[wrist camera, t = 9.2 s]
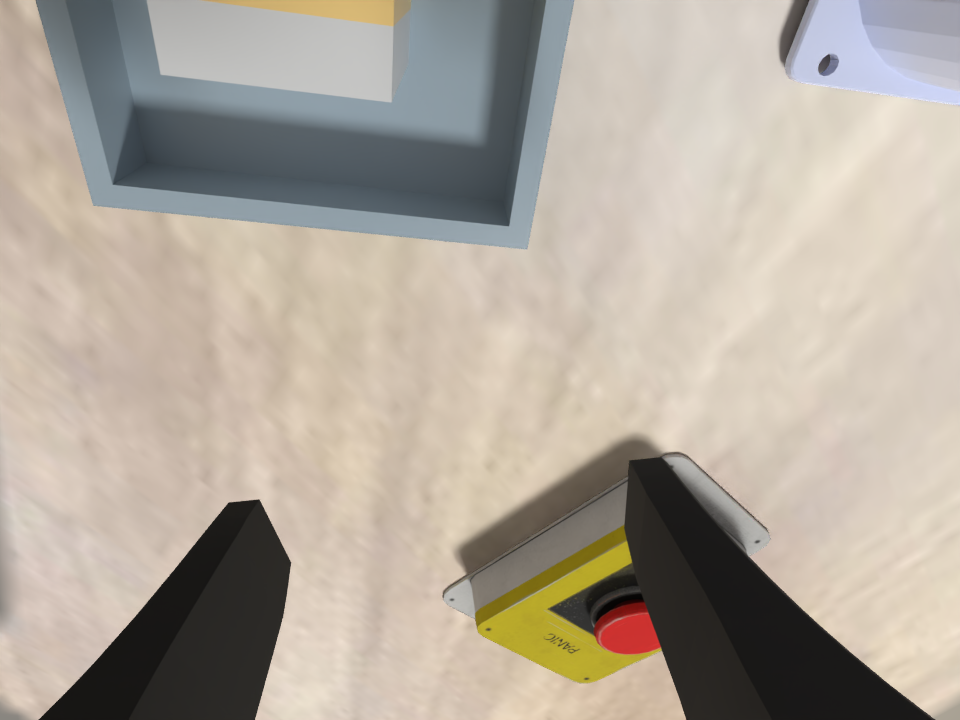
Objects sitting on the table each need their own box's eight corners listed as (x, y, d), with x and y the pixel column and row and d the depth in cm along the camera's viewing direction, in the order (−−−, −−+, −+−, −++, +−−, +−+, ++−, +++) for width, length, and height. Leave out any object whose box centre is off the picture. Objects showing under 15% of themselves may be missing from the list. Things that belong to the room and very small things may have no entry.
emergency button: (819, 613, 24) (557, 726, 30) (772, 530, 28) (546, 646, 34) (711, 520, 20) (432, 672, 26) (672, 437, 24) (434, 587, 30)
